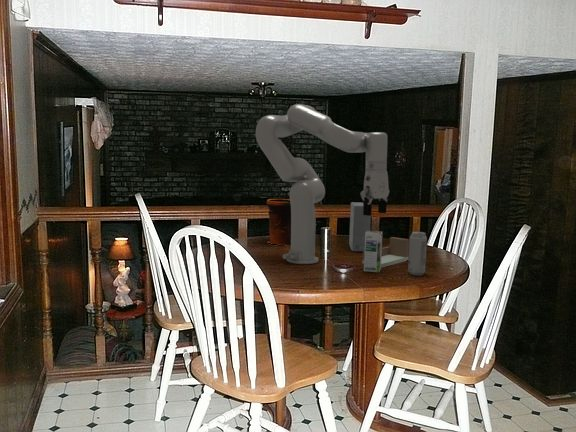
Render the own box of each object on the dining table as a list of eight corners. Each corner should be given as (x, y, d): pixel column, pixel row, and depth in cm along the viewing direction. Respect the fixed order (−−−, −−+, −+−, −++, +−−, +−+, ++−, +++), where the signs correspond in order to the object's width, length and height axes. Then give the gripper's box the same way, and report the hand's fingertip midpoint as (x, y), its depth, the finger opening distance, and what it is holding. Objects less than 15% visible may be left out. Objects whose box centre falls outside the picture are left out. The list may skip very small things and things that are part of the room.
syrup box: (363, 271, 201) (364, 232, 199) (365, 268, 206) (367, 229, 204) (379, 273, 199) (380, 233, 197) (381, 269, 205) (382, 230, 203)
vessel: (264, 239, 260) (266, 197, 258) (294, 240, 262) (296, 198, 259) (265, 245, 246) (267, 201, 244) (297, 246, 247) (299, 202, 245)
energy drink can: (411, 271, 203) (413, 230, 201) (427, 273, 200) (429, 232, 198) (405, 274, 198) (407, 232, 196) (421, 276, 195) (423, 234, 193)
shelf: (382, 267, 208) (383, 245, 206) (362, 263, 214) (363, 242, 212) (408, 260, 221) (409, 239, 220) (388, 256, 227) (389, 236, 226)
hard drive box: (369, 252, 236) (371, 206, 234) (351, 251, 237) (353, 205, 234) (365, 245, 252) (367, 202, 249) (348, 245, 252) (350, 201, 249)
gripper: (371, 167, 189) (370, 217, 192) (397, 166, 202) (396, 212, 204) (353, 167, 194) (352, 215, 197) (380, 166, 207) (379, 211, 209)
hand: (374, 214), depth 200 cm, fingers open, 9 cm apart
